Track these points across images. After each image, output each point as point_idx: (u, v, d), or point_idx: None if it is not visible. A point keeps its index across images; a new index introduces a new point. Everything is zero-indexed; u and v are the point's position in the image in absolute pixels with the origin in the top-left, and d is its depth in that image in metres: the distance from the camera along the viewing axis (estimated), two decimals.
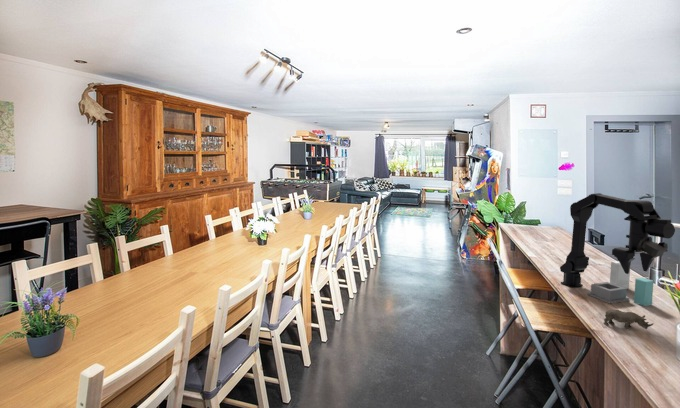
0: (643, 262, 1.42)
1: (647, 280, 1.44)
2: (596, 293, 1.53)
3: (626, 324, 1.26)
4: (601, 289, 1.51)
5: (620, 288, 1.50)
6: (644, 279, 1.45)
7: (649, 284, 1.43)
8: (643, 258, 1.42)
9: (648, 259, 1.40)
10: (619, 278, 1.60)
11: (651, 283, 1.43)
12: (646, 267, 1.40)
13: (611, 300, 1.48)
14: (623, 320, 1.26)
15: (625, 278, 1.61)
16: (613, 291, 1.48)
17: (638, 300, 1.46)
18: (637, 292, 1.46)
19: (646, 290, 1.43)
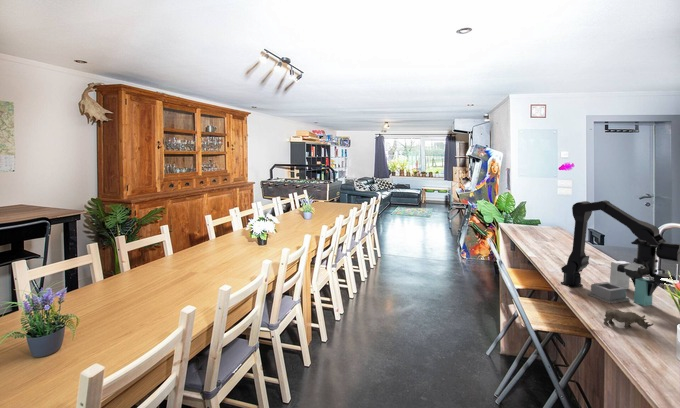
0: None
1: None
2: (596, 293, 1.53)
3: (626, 324, 1.26)
4: (601, 289, 1.51)
5: (620, 288, 1.50)
6: (644, 279, 1.45)
7: None
8: None
9: None
10: (619, 278, 1.60)
11: None
12: None
13: (611, 300, 1.48)
14: (623, 320, 1.26)
15: (625, 278, 1.61)
16: (613, 291, 1.48)
17: (638, 300, 1.46)
18: (637, 292, 1.46)
19: (646, 290, 1.43)
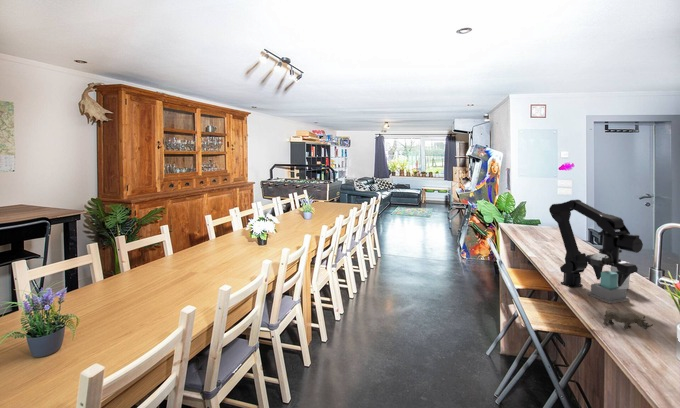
0: None
1: (611, 273, 1.51)
2: (596, 293, 1.53)
3: (625, 324, 1.26)
4: (601, 289, 1.51)
5: (620, 288, 1.50)
6: (609, 272, 1.52)
7: (613, 277, 1.50)
8: None
9: None
10: None
11: (615, 275, 1.50)
12: None
13: (611, 300, 1.48)
14: (622, 320, 1.26)
15: None
16: (613, 291, 1.48)
17: None
18: (603, 285, 1.53)
19: (610, 282, 1.50)
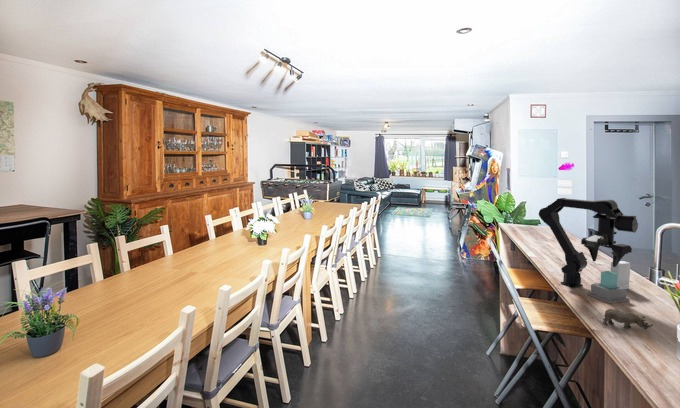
0: None
1: (611, 273, 1.51)
2: (596, 293, 1.53)
3: (625, 324, 1.26)
4: (601, 289, 1.51)
5: (620, 288, 1.50)
6: (609, 272, 1.52)
7: (613, 277, 1.50)
8: None
9: None
10: (619, 278, 1.60)
11: (615, 275, 1.50)
12: None
13: (611, 300, 1.48)
14: (622, 320, 1.26)
15: (625, 278, 1.61)
16: (613, 291, 1.48)
17: None
18: (603, 285, 1.53)
19: (610, 282, 1.50)
